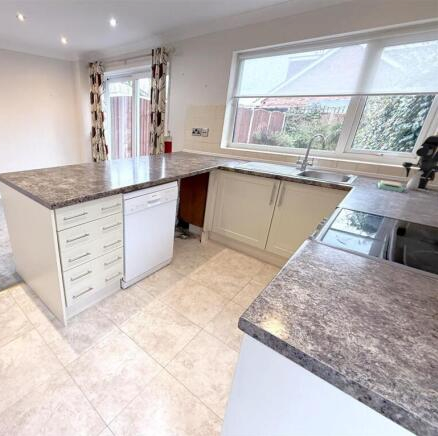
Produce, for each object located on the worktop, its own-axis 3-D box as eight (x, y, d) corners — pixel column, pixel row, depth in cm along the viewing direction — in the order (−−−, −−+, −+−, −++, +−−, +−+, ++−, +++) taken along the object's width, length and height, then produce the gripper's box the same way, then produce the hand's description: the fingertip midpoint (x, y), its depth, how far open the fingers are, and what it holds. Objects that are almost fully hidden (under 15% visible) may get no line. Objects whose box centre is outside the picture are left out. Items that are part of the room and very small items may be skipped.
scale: (377, 184, 182) (379, 180, 180) (399, 187, 175) (401, 183, 174) (378, 188, 171) (380, 184, 170) (401, 192, 165) (404, 187, 163)
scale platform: (380, 181, 180) (381, 180, 179) (399, 184, 174) (399, 182, 174) (381, 184, 172) (382, 183, 171) (401, 187, 166) (401, 186, 166)
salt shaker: (418, 190, 170) (428, 172, 165) (409, 189, 171) (418, 171, 165) (412, 188, 175) (421, 170, 170) (402, 187, 176) (411, 169, 171)
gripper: (409, 155, 163) (398, 178, 169) (450, 159, 152) (437, 183, 159) (407, 153, 171) (397, 175, 177) (446, 157, 161) (434, 180, 167)
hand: (415, 178), depth 170 cm, fingers open, 9 cm apart
